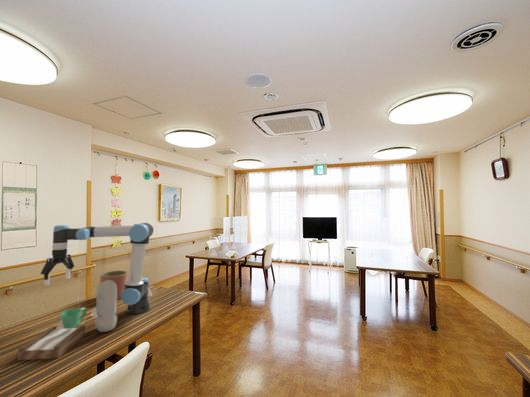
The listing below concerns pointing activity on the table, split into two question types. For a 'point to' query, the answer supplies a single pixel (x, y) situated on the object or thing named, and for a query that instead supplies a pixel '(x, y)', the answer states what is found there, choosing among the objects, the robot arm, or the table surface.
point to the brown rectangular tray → (51, 343)
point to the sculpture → (106, 306)
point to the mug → (72, 317)
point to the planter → (115, 280)
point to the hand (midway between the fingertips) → (57, 281)
